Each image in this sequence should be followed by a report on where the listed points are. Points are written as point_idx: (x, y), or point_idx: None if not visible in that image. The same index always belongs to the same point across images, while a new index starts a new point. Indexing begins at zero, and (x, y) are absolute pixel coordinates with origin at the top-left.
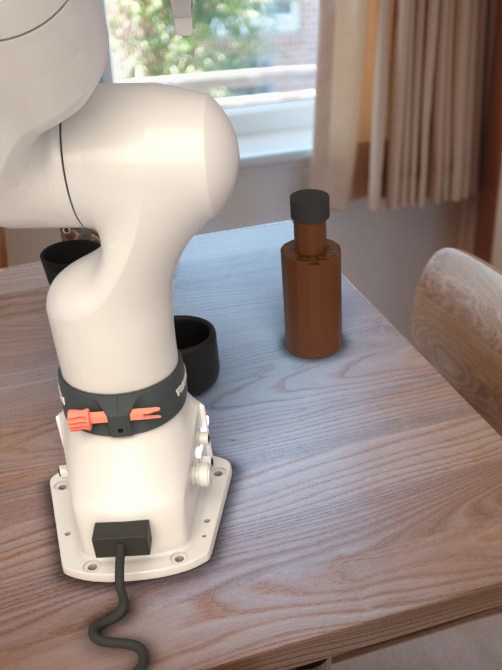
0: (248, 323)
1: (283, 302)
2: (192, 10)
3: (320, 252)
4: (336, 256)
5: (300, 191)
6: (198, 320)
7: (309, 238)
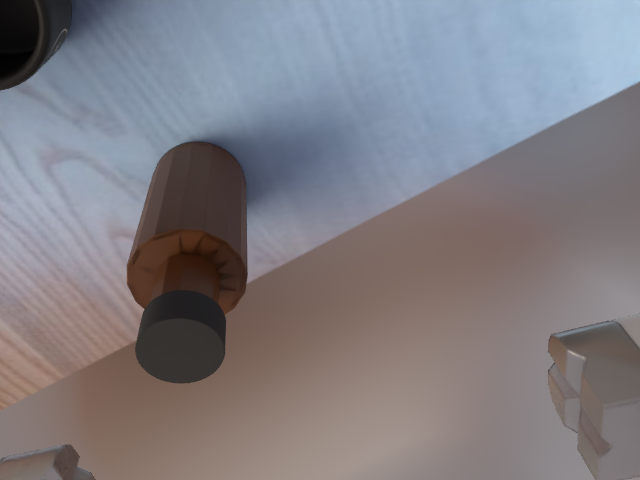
0: (258, 62)
1: (183, 176)
2: (559, 414)
3: None
4: None
5: (204, 332)
6: (36, 44)
7: None
